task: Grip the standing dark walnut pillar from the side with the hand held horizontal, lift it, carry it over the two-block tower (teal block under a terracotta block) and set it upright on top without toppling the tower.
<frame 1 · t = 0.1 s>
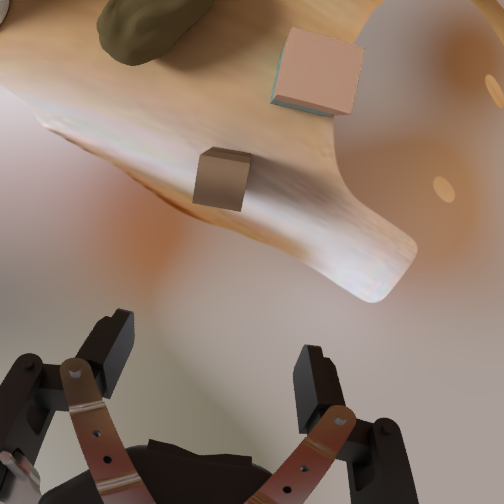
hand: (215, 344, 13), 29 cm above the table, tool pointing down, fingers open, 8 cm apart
decorative stone: (169, 17, 30), on the table
pillar: (228, 168, 39), on the table
tower base: (302, 84, 34), on the table, touching tower top
tower top: (310, 77, 29), point 6 cm above the table, touching tower base
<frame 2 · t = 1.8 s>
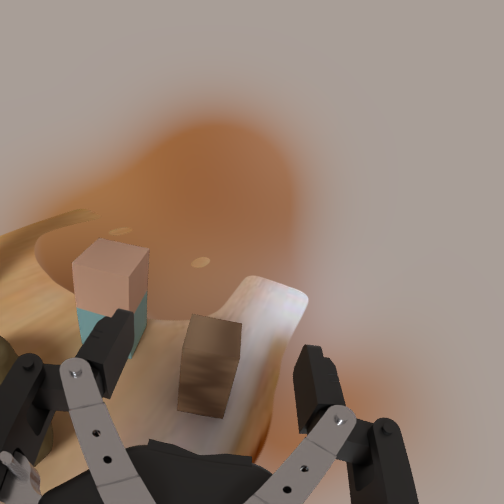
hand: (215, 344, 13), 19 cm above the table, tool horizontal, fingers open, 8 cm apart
decorative stone: (6, 424, 19), on the table
pillar: (202, 397, 31), on the table
tower base: (115, 334, 37), on the table, touching tower top
tower top: (112, 298, 34), point 6 cm above the table, touching tower base
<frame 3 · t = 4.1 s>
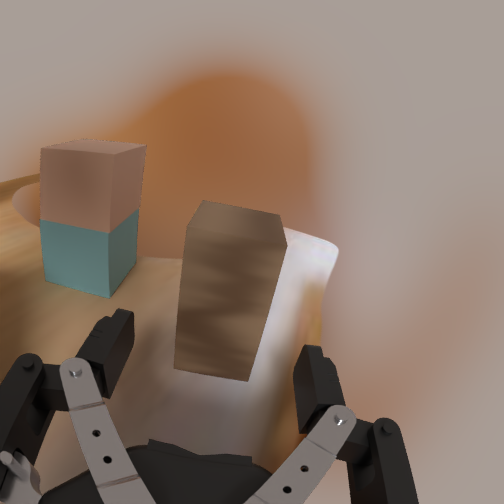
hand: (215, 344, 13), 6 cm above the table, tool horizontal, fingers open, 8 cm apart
pillar: (214, 350, 21), on the table
tower base: (92, 271, 27), on the table, touching tower top
tower top: (92, 212, 24), point 6 cm above the table, touching tower base
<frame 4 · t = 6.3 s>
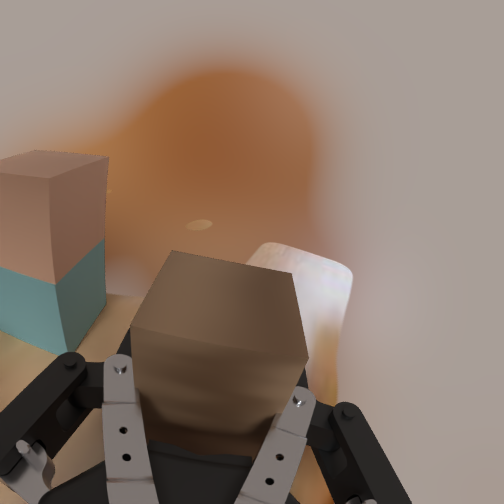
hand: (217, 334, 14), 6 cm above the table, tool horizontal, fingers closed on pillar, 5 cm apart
pillar: (199, 440, 14), on the table, touching gripper
tower base: (52, 317, 20), on the table, touching tower top
tower top: (42, 247, 17), point 6 cm above the table, touching tower base
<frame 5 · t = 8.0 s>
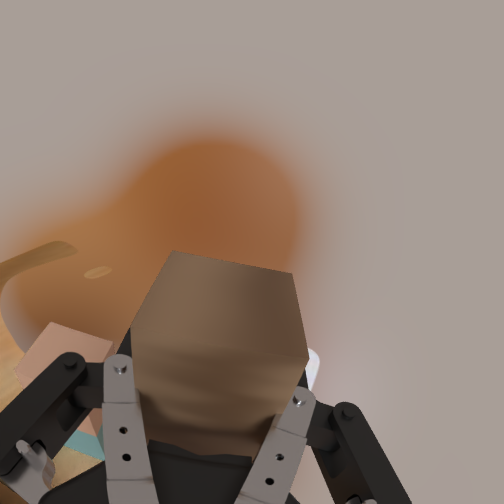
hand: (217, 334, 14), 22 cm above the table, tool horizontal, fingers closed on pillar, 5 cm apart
pillar: (199, 440, 14), point 16 cm above the table, touching gripper
tower base: (87, 427, 26), on the table, touching tower top
tower top: (76, 397, 23), point 6 cm above the table, touching tower base
when the fingers open (19 cm above the table, at t = 10.0 s): pillar stays where it is, resting on tower top.
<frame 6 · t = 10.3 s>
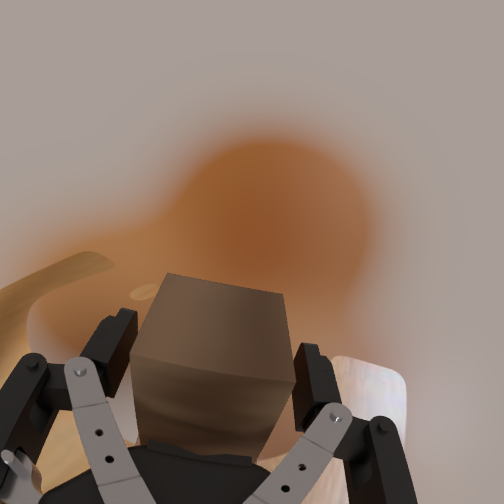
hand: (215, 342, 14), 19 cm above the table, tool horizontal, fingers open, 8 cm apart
pillar: (196, 448, 15), point 12 cm above the table, touching tower top
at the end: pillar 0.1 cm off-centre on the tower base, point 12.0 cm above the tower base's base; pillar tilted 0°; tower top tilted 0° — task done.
